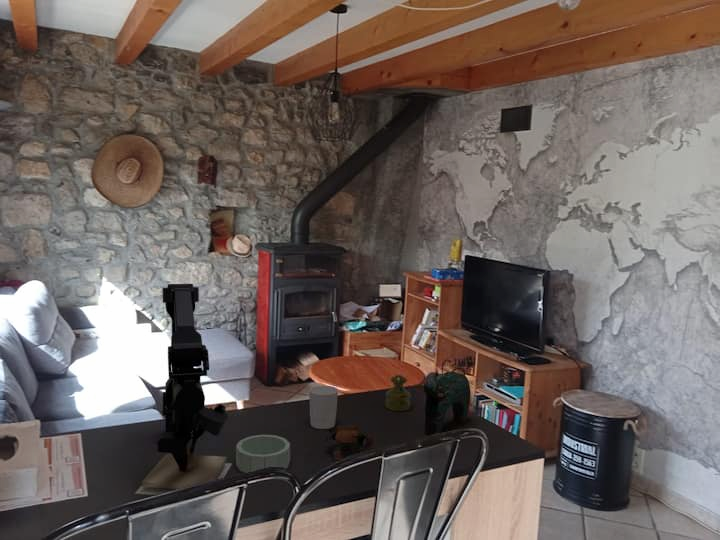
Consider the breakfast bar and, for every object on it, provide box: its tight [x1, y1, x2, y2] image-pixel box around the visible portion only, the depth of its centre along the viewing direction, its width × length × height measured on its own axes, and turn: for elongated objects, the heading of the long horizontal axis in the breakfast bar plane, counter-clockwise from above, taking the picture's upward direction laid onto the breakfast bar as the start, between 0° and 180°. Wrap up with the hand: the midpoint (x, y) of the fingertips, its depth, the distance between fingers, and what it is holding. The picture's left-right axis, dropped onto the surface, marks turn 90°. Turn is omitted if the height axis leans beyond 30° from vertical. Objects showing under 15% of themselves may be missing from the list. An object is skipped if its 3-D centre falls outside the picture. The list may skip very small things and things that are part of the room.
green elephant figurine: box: [423, 358, 471, 436], centre depth 164 cm, size 20×6×20 cm, turn 139°
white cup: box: [309, 384, 339, 430], centre depth 164 cm, size 8×8×10 cm
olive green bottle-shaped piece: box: [385, 374, 412, 412], centre depth 180 cm, size 7×7×10 cm
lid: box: [141, 452, 228, 489], centre depth 129 cm, size 14×14×5 cm
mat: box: [134, 462, 233, 496], centre depth 129 cm, size 16×16×1 cm
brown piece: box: [325, 425, 374, 462], centre depth 146 cm, size 12×10×8 cm
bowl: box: [235, 434, 291, 474], centre depth 137 cm, size 12×12×5 cm
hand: (186, 467), depth 129 cm, fingers closed on lid, 3 cm apart
